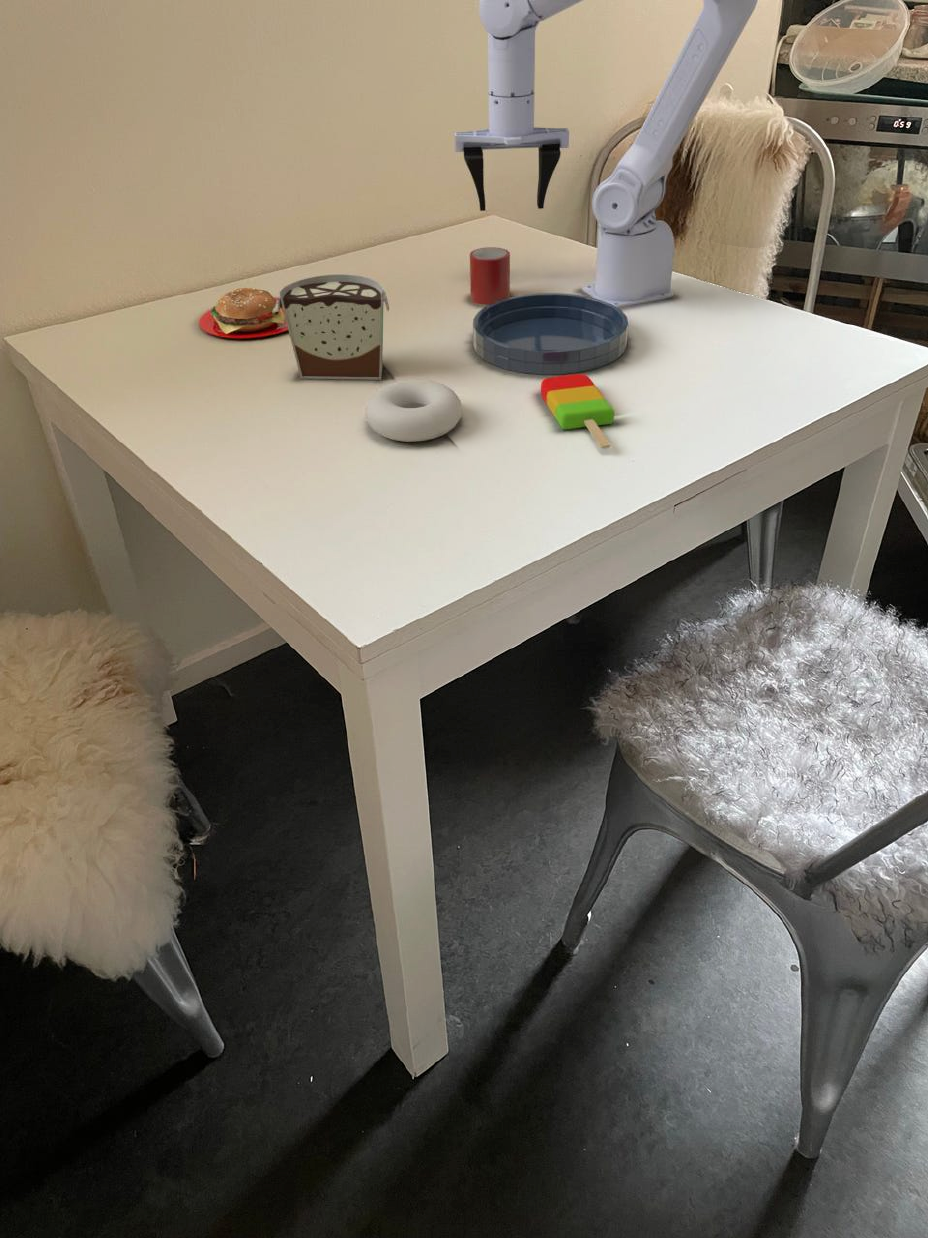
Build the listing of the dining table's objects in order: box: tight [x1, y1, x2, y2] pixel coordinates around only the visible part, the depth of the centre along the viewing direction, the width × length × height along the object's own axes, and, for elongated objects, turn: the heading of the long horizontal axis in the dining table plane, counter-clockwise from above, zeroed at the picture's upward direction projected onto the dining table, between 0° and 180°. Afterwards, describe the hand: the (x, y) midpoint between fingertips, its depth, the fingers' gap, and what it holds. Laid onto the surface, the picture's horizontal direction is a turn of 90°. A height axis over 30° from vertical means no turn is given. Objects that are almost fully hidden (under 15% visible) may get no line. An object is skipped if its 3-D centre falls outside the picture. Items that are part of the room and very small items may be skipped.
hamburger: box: [198, 286, 289, 339], centre depth 123 cm, size 14×14×6 cm
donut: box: [365, 379, 463, 443], centre depth 99 cm, size 10×4×10 cm
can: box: [469, 246, 511, 306], centre depth 126 cm, size 5×5×6 cm
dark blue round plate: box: [472, 292, 629, 376], centre depth 114 cm, size 18×18×3 cm
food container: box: [277, 273, 390, 381], centre depth 109 cm, size 12×6×10 cm, turn 84°
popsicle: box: [540, 373, 615, 449], centre depth 99 cm, size 6×15×2 cm, turn 12°
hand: (511, 207), depth 128 cm, fingers open, 7 cm apart
